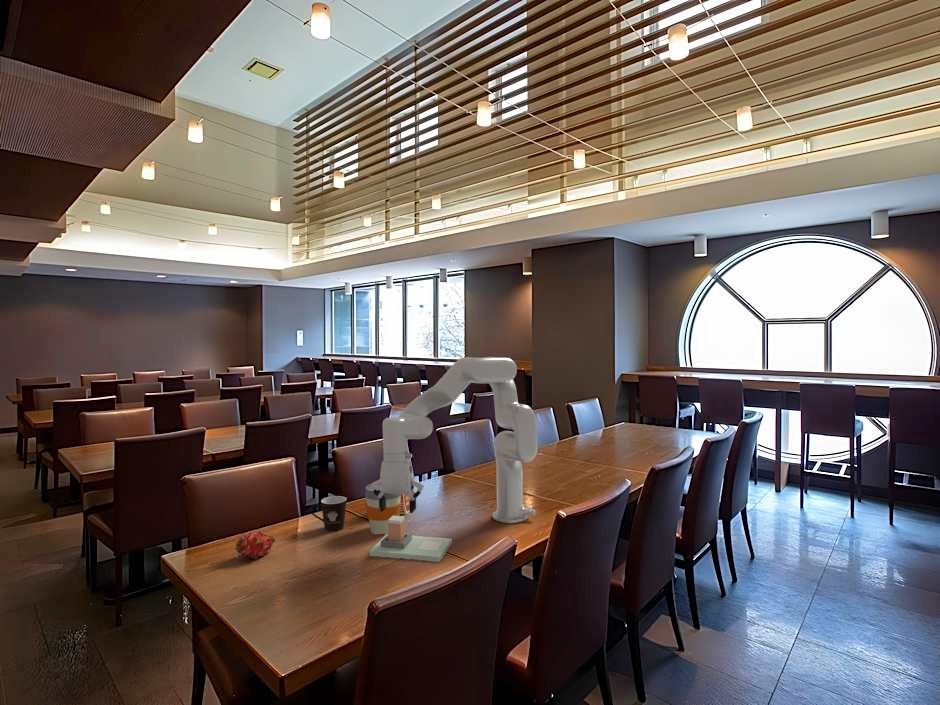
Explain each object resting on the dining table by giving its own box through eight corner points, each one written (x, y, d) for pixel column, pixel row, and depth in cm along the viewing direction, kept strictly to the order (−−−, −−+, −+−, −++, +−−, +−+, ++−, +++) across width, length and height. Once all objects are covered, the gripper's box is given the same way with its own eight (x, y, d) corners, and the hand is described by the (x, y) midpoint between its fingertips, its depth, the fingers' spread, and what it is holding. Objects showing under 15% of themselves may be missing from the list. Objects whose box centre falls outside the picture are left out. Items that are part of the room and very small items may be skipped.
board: (451, 543, 162) (451, 533, 162) (439, 562, 148) (439, 550, 148) (387, 538, 166) (387, 528, 166) (369, 555, 153) (369, 545, 153)
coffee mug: (351, 525, 178) (351, 497, 178) (337, 534, 170) (337, 504, 170) (323, 521, 182) (323, 494, 182) (308, 530, 174) (308, 501, 174)
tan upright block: (405, 541, 160) (404, 516, 160) (400, 546, 156) (400, 520, 156) (393, 540, 161) (392, 515, 160) (388, 545, 157) (388, 519, 156)
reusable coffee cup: (371, 539, 166) (370, 493, 165) (361, 527, 177) (360, 484, 176) (407, 532, 171) (406, 488, 171) (395, 520, 182) (394, 479, 182)
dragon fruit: (231, 567, 149) (271, 561, 157) (241, 557, 144) (282, 551, 153) (228, 539, 153) (268, 534, 161) (239, 528, 149) (278, 524, 157)
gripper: (425, 454, 159) (427, 508, 160) (374, 453, 163) (376, 505, 164) (418, 460, 152) (420, 516, 153) (365, 459, 156) (367, 513, 156)
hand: (397, 511), depth 158 cm, fingers open, 9 cm apart
